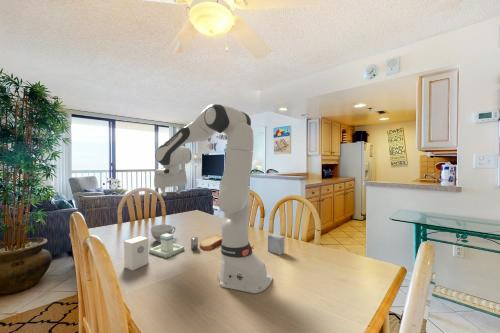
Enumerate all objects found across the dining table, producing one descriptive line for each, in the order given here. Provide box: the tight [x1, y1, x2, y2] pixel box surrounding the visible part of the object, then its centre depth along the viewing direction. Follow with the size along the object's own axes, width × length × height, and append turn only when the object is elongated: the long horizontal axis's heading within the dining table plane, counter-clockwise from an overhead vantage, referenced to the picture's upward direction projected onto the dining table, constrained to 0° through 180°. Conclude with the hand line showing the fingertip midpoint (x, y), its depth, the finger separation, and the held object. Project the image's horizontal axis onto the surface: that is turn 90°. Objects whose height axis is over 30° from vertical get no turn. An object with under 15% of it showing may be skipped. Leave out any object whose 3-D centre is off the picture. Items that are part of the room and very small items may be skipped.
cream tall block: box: [123, 235, 150, 271], centre depth 108 cm, size 7×8×12 cm
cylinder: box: [190, 236, 199, 251], centre depth 127 cm, size 4×4×6 cm
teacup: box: [150, 224, 176, 243], centre depth 141 cm, size 15×12×8 cm
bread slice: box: [199, 233, 222, 252], centre depth 136 cm, size 18×18×4 cm
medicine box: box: [267, 233, 285, 256], centre depth 123 cm, size 8×4×9 cm, turn 47°
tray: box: [148, 243, 185, 259], centre depth 124 cm, size 13×12×2 cm
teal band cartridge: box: [160, 233, 174, 252], centre depth 124 cm, size 5×4×8 cm
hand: (171, 194), depth 131 cm, fingers open, 8 cm apart
